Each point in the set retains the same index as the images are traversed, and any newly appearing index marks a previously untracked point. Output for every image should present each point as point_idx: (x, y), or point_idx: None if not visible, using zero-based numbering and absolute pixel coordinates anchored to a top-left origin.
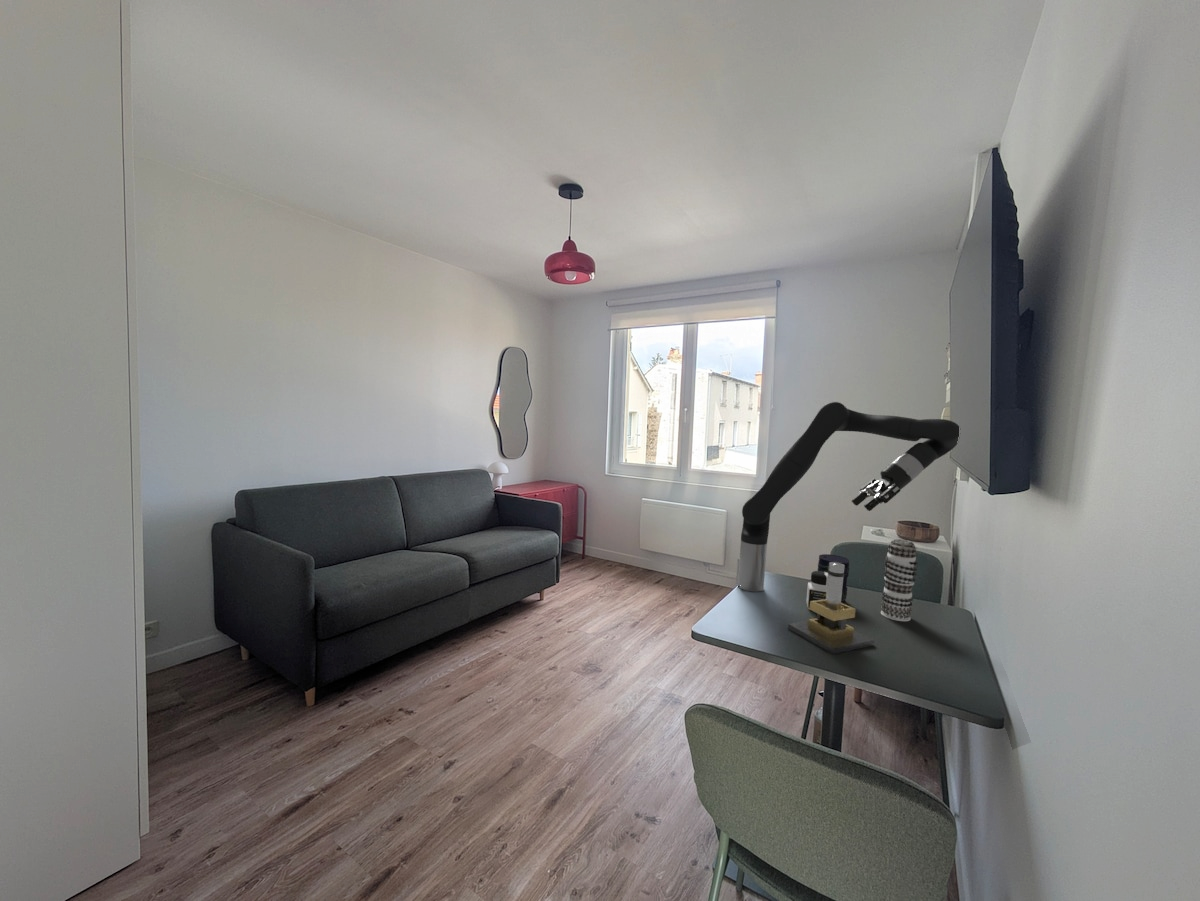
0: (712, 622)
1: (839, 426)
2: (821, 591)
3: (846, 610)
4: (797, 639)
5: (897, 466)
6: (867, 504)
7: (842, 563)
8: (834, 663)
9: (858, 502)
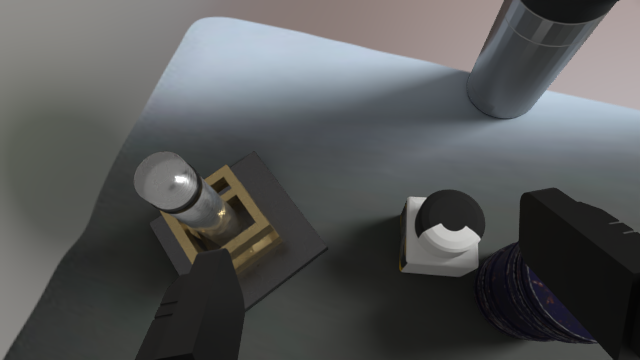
0: (244, 28)
1: None
2: (406, 229)
3: (181, 246)
4: (207, 168)
5: None
6: (195, 274)
7: (534, 299)
8: (115, 222)
9: (542, 265)
